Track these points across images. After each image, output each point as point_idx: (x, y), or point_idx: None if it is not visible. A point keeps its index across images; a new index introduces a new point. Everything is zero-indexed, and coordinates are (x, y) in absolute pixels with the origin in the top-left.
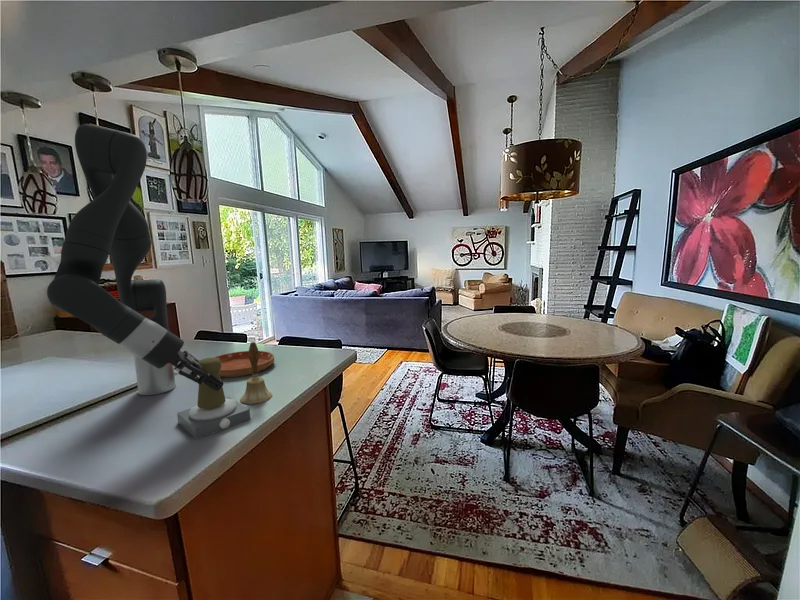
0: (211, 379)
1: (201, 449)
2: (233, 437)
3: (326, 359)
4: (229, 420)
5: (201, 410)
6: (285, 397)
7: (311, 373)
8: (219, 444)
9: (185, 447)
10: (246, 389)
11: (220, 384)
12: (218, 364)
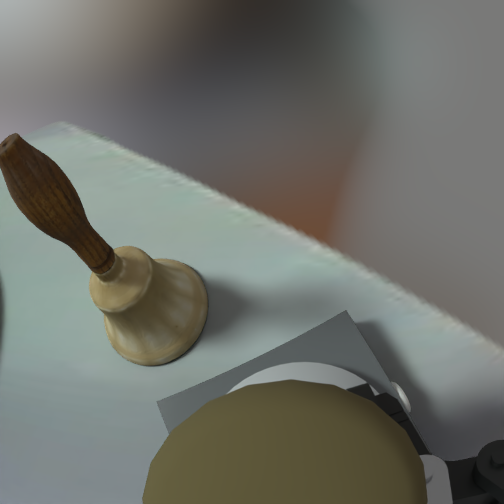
0: (422, 447)
1: (494, 435)
2: (458, 359)
3: None
4: (393, 382)
5: None
6: (203, 221)
7: (77, 170)
8: (485, 391)
9: None
10: (137, 326)
11: (391, 396)
12: (355, 396)
